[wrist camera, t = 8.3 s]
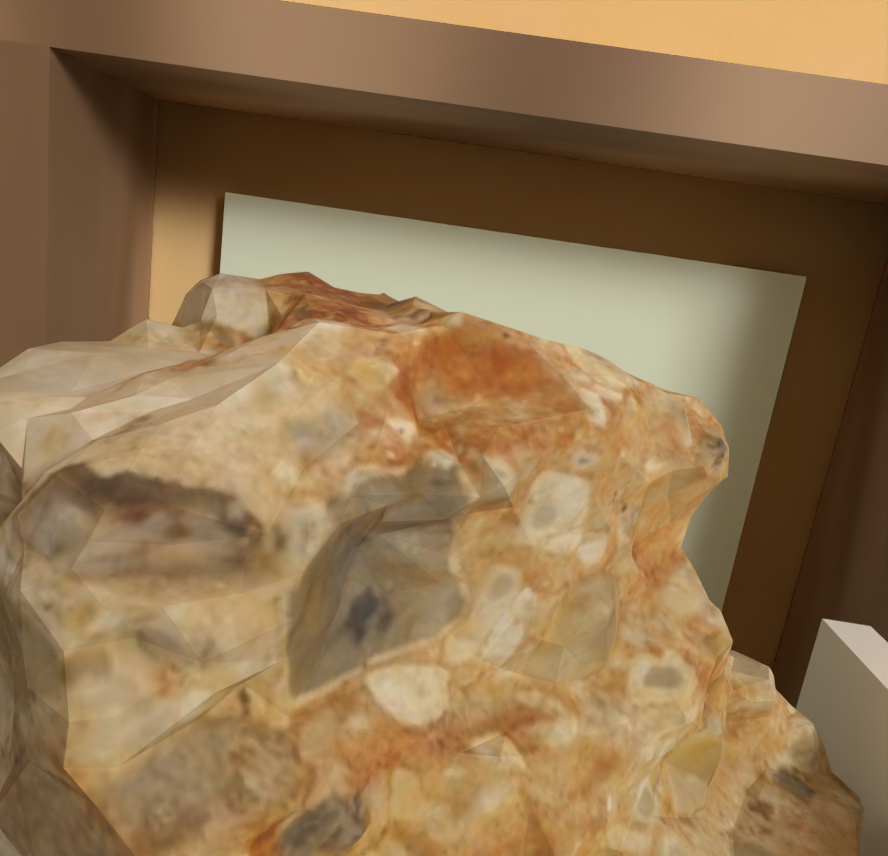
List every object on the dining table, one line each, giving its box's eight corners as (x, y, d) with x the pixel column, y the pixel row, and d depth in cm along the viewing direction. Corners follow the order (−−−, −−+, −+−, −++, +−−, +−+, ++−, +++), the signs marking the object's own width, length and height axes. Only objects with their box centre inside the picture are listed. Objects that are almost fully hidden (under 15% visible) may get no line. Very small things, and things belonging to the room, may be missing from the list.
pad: (190, 767, 17) (185, 775, 17) (230, 193, 14) (225, 191, 14) (656, 844, 17) (659, 854, 16) (800, 276, 14) (807, 276, 13)
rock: (103, 710, 14) (-726, 1684, 5) (261, 200, 12) (-757, -73, 2) (663, 920, 15) (1017, 2240, 5) (927, 465, 12) (2647, 1267, 2)
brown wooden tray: (84, 837, 18) (-12, 976, 14) (109, 35, 13) (-20, -42, 10) (738, 948, 17) (800, 1117, 14) (974, 156, 13) (1145, 120, 10)
